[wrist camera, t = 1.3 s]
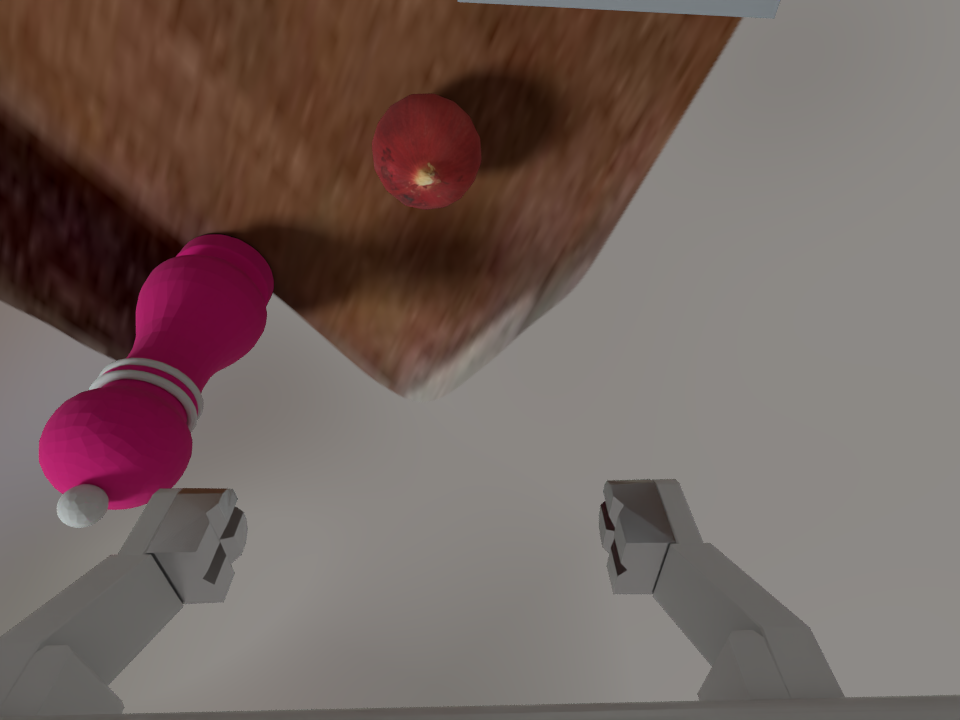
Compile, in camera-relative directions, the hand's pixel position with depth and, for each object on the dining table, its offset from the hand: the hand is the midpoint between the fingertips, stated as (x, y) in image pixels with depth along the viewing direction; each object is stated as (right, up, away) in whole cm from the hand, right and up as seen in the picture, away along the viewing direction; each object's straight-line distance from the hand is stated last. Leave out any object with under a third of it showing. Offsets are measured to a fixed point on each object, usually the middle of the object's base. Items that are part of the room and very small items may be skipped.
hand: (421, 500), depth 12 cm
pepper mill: (-16, +9, +26) cm, 32 cm away
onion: (-2, +17, +20) cm, 26 cm away
